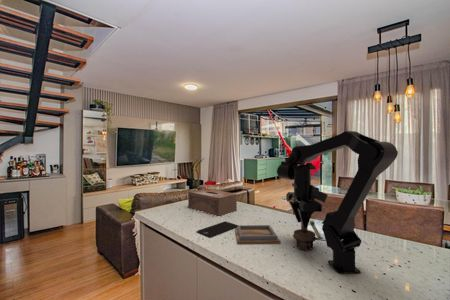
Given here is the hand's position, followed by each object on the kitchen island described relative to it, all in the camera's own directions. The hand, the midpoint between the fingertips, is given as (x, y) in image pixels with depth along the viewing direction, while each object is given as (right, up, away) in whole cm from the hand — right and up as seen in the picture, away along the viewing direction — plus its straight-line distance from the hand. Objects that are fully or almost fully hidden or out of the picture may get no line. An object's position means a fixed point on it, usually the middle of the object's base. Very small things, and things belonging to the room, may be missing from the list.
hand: (302, 224), depth 79 cm
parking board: (-15, -8, +10) cm, 20 cm away
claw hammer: (+13, -9, +16) cm, 22 cm away
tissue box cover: (-36, -8, +50) cm, 62 cm away
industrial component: (0, -8, 0) cm, 8 cm away
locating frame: (-15, -7, +10) cm, 19 cm away
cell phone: (-31, -9, +18) cm, 36 cm away
